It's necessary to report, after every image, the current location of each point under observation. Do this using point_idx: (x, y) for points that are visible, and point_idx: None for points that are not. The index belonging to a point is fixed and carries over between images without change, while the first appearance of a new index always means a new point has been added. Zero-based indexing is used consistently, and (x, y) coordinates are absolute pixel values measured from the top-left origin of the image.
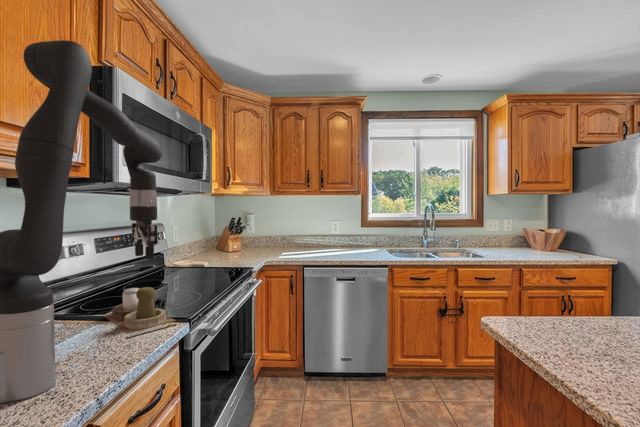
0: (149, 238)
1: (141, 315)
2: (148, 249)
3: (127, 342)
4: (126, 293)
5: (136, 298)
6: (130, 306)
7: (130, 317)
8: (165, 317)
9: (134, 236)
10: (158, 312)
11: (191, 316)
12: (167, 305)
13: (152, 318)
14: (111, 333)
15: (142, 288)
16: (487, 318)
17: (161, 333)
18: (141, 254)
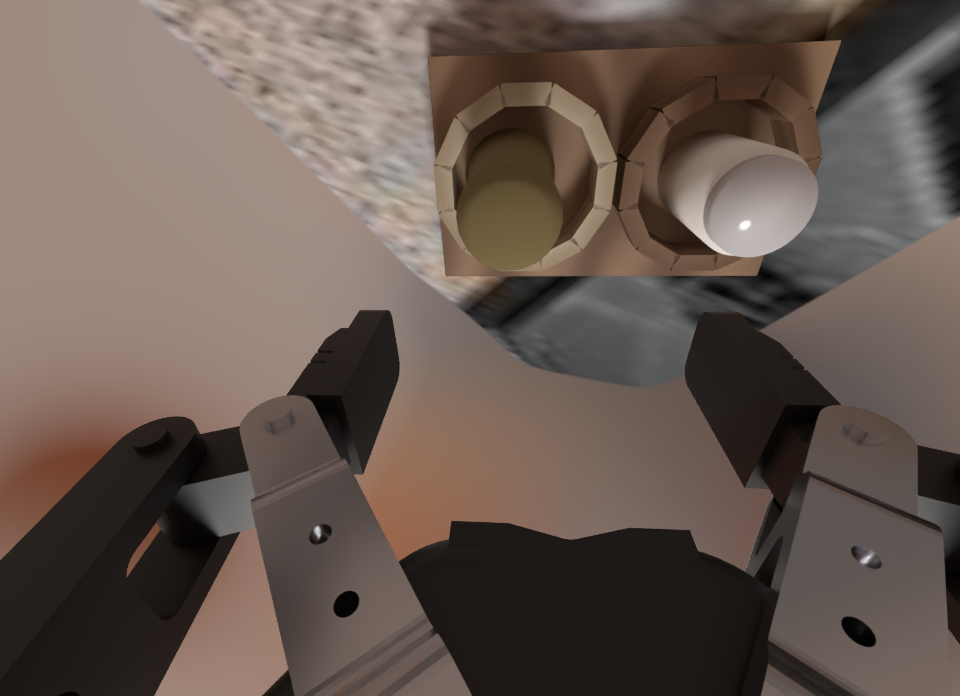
0: (51, 523)
1: (481, 155)
2: (297, 387)
3: (389, 42)
4: (743, 163)
5: (686, 207)
6: (685, 165)
7: (580, 127)
8: None
9: (865, 522)
10: None
11: (504, 344)
12: None
13: (436, 189)
14: (563, 14)
15: (508, 207)
16: None
17: (401, 194)
18: (691, 367)
